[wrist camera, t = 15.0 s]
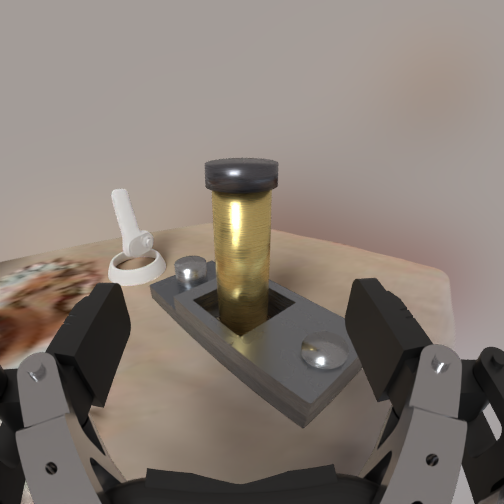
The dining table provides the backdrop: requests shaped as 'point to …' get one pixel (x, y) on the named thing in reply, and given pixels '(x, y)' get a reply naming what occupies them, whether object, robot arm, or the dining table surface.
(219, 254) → the pin
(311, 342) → the grey plate with studs
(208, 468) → the dining table surface
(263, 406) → the dining table surface
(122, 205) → the white vr controller
